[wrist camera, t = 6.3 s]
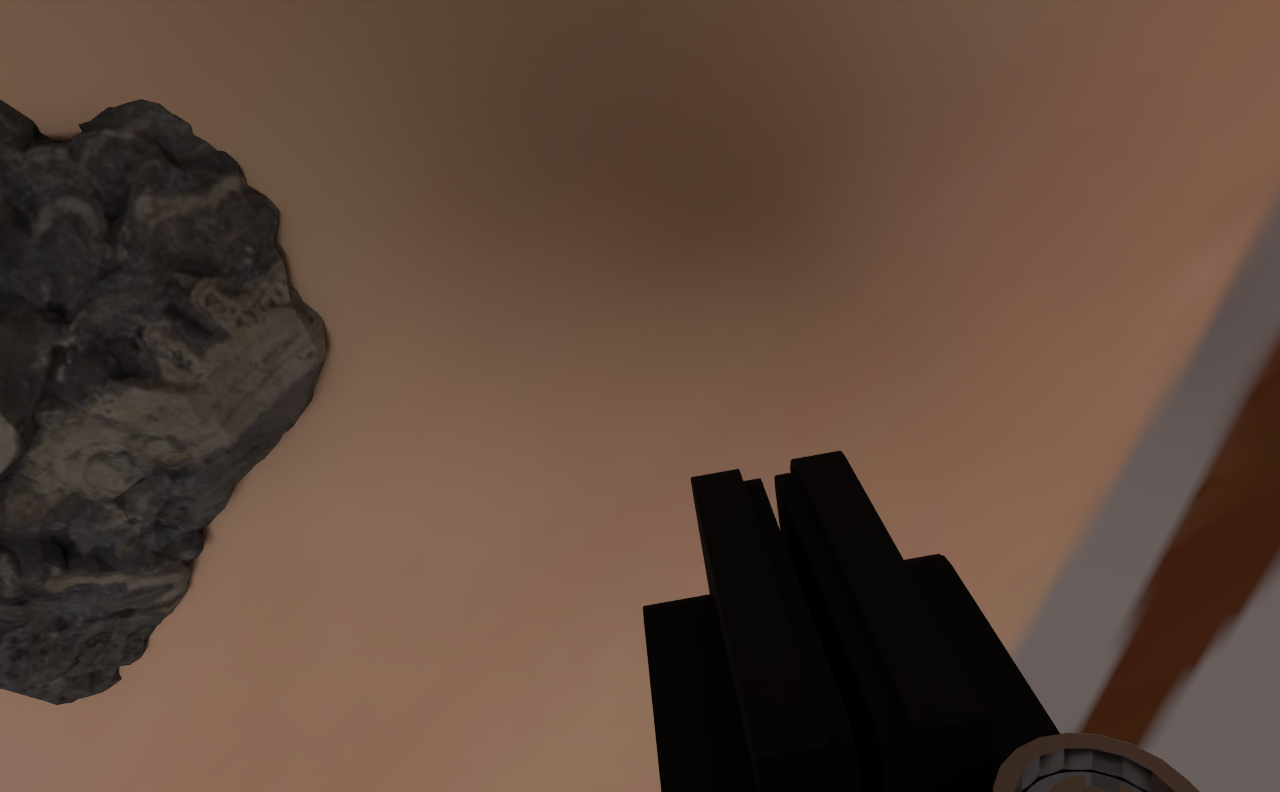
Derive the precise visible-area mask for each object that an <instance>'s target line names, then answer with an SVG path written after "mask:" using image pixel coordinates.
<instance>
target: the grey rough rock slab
mask: <svg viewBox="0 0 1280 792" xmlns="http://www.w3.org/2000/svg"><path fill="white" fill-rule="evenodd" d="M79 127H80V128H81V130H82V133H80V134H77V135H75V136H74V137H73V138H72V139H70V140H69V141H68V142H63V141H59V140H53V139H51V138H49V137H47V136H45V135H43V134H42V133H40V131H39V129H38V127H37V126H36V124H35V123H34V122H33V121H32V120H30V119H28V118H27V117H25V116H24V115H22V114H21V113H19V112H18V111H16V110H15V109H13V108H12V107H10V106H9V105H7V104H5V103H3V102H1V101H0V689H5V690H8V691H12V692H15V693H19V694H22V695H26V696H29V697H33V698H36V699H40V700H43V701H47V702H49V703H52V704H56V705H59V704H64V703H72V702H74V701H76V700H77V699H81V698H84V697H88V696H92V695H95V694H98V693H101V692H104V691H105V690H107V689H108V688H110V687H112V686H113V685H114V684H116V683H117V682H118V681H120V680H121V678H122V677H121V676H120V674H119V667H120V666H125V665H130V664H132V663H133V662H135V661H137V660H138V659H140V658H141V657H142V655H143V654H144V651H145V648H146V644H147V641H148V638H149V637H150V635H151V634H152V632H153V631H154V629H155V628H156V627H157V625H159V624H160V623H161V622H162V620H163V619H164V618H165V617H166V616H168V615H169V614H171V613H172V612H173V611H174V609H175V608H176V606H177V605H178V604H179V602H180V601H181V599H182V598H183V597H184V595H185V594H186V592H187V590H188V580H189V577H190V575H191V573H190V570H189V568H188V566H187V564H186V561H189V560H192V559H195V558H198V557H199V555H200V554H201V552H202V551H203V548H204V539H205V537H204V534H203V530H202V528H203V527H205V526H208V525H209V524H210V523H211V522H212V521H213V519H214V518H215V517H216V516H217V515H218V514H219V513H220V512H221V511H222V510H223V509H224V508H225V507H226V505H227V503H228V501H229V499H230V497H231V494H232V491H233V489H234V486H235V485H236V484H237V483H238V482H239V481H240V480H241V479H242V478H243V477H244V476H245V475H246V474H247V473H248V472H249V471H250V470H251V469H252V468H253V467H254V466H255V465H256V464H257V463H259V462H260V461H261V460H263V459H264V458H265V457H266V456H267V455H268V454H269V452H270V451H271V450H272V449H273V448H274V447H275V446H276V444H277V443H278V442H279V441H280V439H281V436H282V434H284V433H285V432H286V431H288V430H289V429H291V428H292V427H293V426H294V424H295V423H296V421H297V420H298V418H299V417H300V415H301V414H302V413H303V411H304V410H305V409H306V407H307V406H308V405H309V403H310V402H311V401H312V395H313V389H314V386H315V384H316V382H317V379H318V376H319V373H320V370H321V368H322V365H323V363H324V360H325V358H326V342H325V335H324V327H323V321H322V317H321V316H320V315H319V314H318V313H317V312H316V311H314V310H313V309H312V308H310V307H309V306H308V305H307V304H305V303H304V302H303V301H302V299H301V297H300V295H299V293H298V292H297V291H296V290H295V289H294V288H293V287H292V286H291V284H290V283H289V281H288V279H287V274H286V269H285V266H284V262H283V259H282V257H281V255H280V253H279V251H278V250H277V248H276V246H275V240H276V236H277V232H278V227H279V212H278V211H277V209H276V208H275V206H274V204H273V203H272V201H271V200H270V199H269V198H267V197H266V196H265V195H263V194H262V193H260V192H258V191H257V190H255V189H253V188H252V187H250V186H248V184H247V181H246V178H245V175H244V174H243V172H242V170H241V168H240V166H239V164H238V163H237V162H236V161H235V160H234V159H233V158H232V157H231V156H229V155H228V154H227V153H226V152H223V151H218V150H216V149H215V148H214V147H213V146H211V145H210V144H209V143H208V142H206V141H204V140H202V139H201V138H199V137H197V136H195V135H193V132H192V128H191V125H190V124H189V123H187V122H185V121H184V120H182V119H181V118H179V117H177V116H176V115H173V114H171V113H170V112H168V111H167V110H166V109H165V108H164V107H163V106H161V105H160V104H158V103H154V102H150V101H146V100H142V99H141V100H137V101H133V102H129V103H126V104H123V105H120V106H117V107H108V108H107V109H105V110H104V111H103V112H101V113H100V114H99V115H97V116H96V117H95V118H93V119H92V120H91V121H89V122H85V123H82V124H79Z"/></svg>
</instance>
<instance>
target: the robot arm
mask: <svg viewBox="0 0 1280 792" xmlns="http://www.w3.org/2000/svg"><path fill="white" fill-rule="evenodd" d="M790 470H791V473H786V474H781V475H775V491H776V499H777V507H778V515H779V523H780V529H779V526H778V524H777V521H776V518H775V516H774V513H773V510H772V507H771V505H770V502H769V499H768V497H767V494H766V491H765V489H764V486H763V483H762V481H761V479H760V478H758V479H753V480H747V481H743V479H742V476H741V473H740V470H739V469H735V470H729V471H724V472H718V473H713V474H707V475H702V476H696V477H691V484H692V491H693V497H694V503H695V509H696V515H697V521H698V526H699V532H700V538H701V544H702V550H703V556H704V562H705V568H706V574H707V580H708V586H709V592H710V594H709V595H703V596H698V597H692V598H687V599H681V600H675V601H670V602H664V603H658V604H653V605H647V606H643V616H644V627H645V636H646V646H647V656H648V666H649V675H650V685H651V695H652V705H653V714H654V724H655V734H656V744H657V753H658V763H659V773H660V782H661V792H1199V791H1198V790H1197V789H1196V788H1195V787H1194V786H1193V785H1192V784H1191V782H1190V781H1188V780H1187V779H1186V778H1184V777H1183V776H1182V775H1181V774H1180V773H1179V772H1177V771H1176V770H1175V769H1174V768H1172V767H1171V766H1170V765H1169V764H1167V763H1166V762H1165V761H1164V760H1162V759H1160V758H1158V757H1156V756H1154V755H1153V754H1151V753H1149V752H1147V751H1145V750H1143V749H1141V748H1139V747H1137V746H1135V745H1133V744H1130V743H1127V742H1123V741H1119V740H1116V739H1112V738H1109V737H1105V736H1101V735H1094V734H1079V733H1063V734H1060V733H1059V732H1058V730H1057V728H1056V726H1055V725H1054V723H1053V722H1052V720H1051V719H1050V717H1049V716H1048V714H1047V713H1046V711H1045V709H1044V708H1043V706H1042V705H1041V703H1040V702H1039V700H1038V698H1037V697H1036V695H1035V694H1034V692H1033V691H1032V689H1031V688H1030V686H1029V684H1028V683H1027V681H1026V680H1025V678H1024V677H1023V675H1022V674H1021V672H1020V670H1019V669H1018V667H1017V666H1016V664H1015V663H1014V661H1013V660H1012V658H1011V656H1010V655H1009V653H1008V652H1007V650H1006V649H1005V647H1004V646H1003V644H1002V642H1001V641H1000V639H999V638H998V636H997V635H996V633H995V632H994V630H993V628H992V627H991V625H990V624H989V622H988V621H987V619H986V618H985V616H984V614H983V613H982V611H981V610H980V608H979V607H978V605H977V604H976V602H975V600H974V599H973V597H972V596H971V594H970V593H969V591H968V590H967V588H966V586H965V585H964V583H963V582H962V580H961V579H960V577H959V576H958V574H957V572H956V571H955V569H954V568H953V566H952V565H951V564H950V562H949V561H948V560H947V559H946V557H945V556H942V555H940V554H935V555H929V556H924V557H918V558H912V559H907V560H903V558H902V556H901V554H900V553H899V551H898V549H897V547H896V545H895V544H894V542H893V540H892V538H891V537H890V535H889V533H888V531H887V530H886V528H885V526H884V524H883V522H882V521H881V519H880V517H879V515H878V514H877V512H876V510H875V508H874V507H873V505H872V503H871V501H870V499H869V498H868V496H867V494H866V492H865V491H864V489H863V487H862V485H861V484H860V482H859V480H858V478H857V476H856V475H855V473H854V471H853V469H852V468H851V466H850V464H849V462H848V461H847V459H846V457H845V455H844V454H843V453H842V451H836V452H830V453H824V454H819V455H813V456H808V457H802V458H797V459H791V465H790Z"/></svg>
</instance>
